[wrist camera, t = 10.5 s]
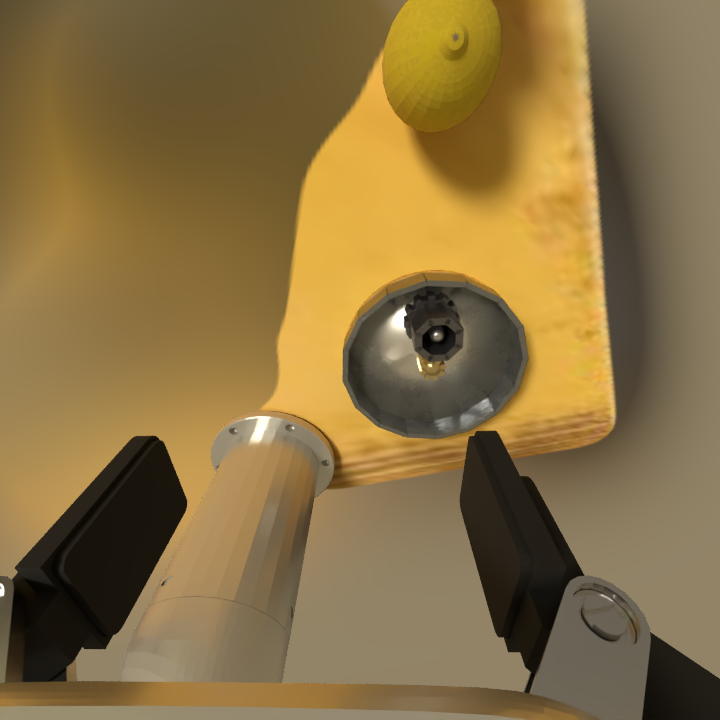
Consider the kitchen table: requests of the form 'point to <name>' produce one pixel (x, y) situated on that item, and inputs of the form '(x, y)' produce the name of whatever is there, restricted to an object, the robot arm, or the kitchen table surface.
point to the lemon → (441, 61)
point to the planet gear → (432, 314)
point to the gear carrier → (433, 379)
